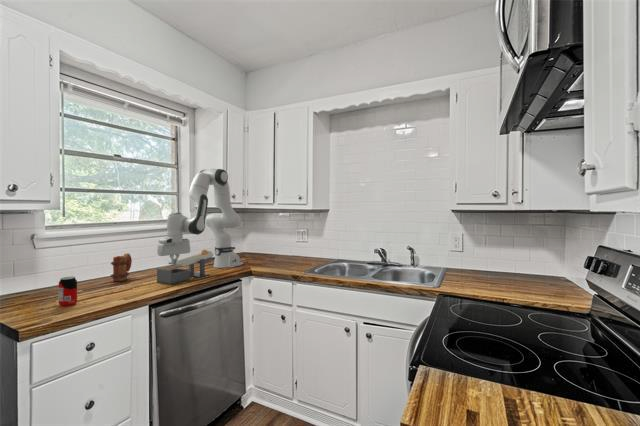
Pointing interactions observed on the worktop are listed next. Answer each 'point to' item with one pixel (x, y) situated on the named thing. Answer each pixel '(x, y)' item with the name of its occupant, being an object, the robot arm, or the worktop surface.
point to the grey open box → (172, 276)
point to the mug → (121, 267)
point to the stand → (202, 270)
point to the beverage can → (67, 291)
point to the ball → (204, 252)
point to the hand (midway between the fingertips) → (174, 262)
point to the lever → (193, 259)
